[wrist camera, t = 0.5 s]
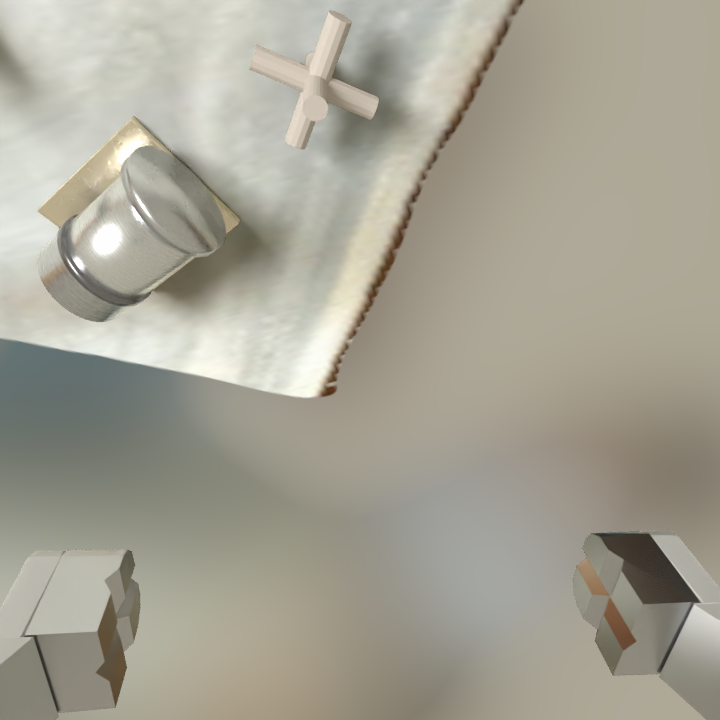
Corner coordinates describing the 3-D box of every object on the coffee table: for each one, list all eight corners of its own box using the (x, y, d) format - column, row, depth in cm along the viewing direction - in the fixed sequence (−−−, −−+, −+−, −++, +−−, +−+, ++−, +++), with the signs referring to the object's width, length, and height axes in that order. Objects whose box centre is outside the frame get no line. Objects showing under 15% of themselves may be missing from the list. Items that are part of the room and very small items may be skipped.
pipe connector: (395, 26, 46) (409, 67, 39) (348, 139, 52) (352, 192, 45) (276, -31, 43) (268, 2, 36) (241, 96, 49) (228, 145, 42)
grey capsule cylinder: (134, 114, 50) (101, 170, 42) (241, 217, 58) (229, 281, 50) (41, 205, 56) (-4, 269, 48) (149, 288, 63) (125, 355, 55)
